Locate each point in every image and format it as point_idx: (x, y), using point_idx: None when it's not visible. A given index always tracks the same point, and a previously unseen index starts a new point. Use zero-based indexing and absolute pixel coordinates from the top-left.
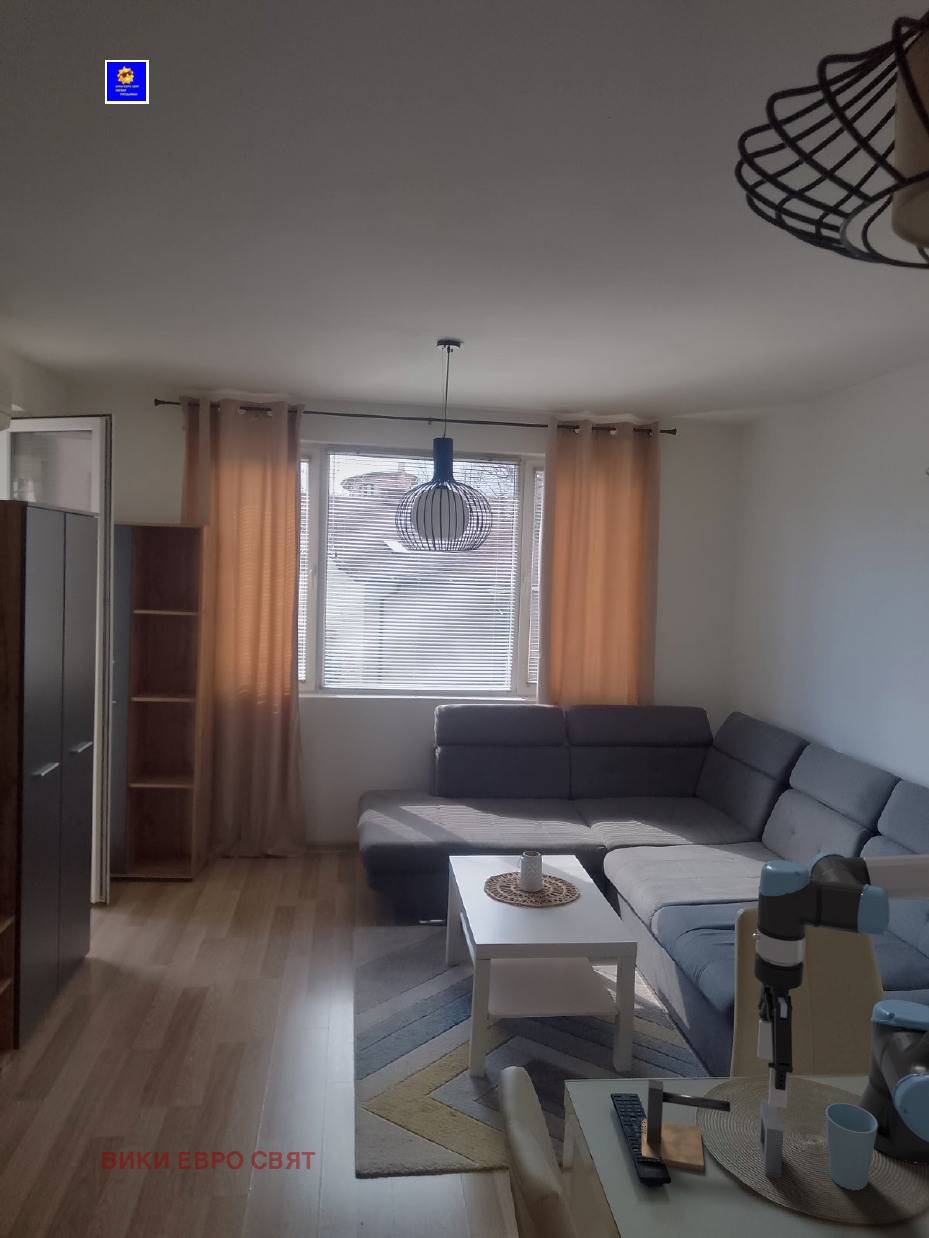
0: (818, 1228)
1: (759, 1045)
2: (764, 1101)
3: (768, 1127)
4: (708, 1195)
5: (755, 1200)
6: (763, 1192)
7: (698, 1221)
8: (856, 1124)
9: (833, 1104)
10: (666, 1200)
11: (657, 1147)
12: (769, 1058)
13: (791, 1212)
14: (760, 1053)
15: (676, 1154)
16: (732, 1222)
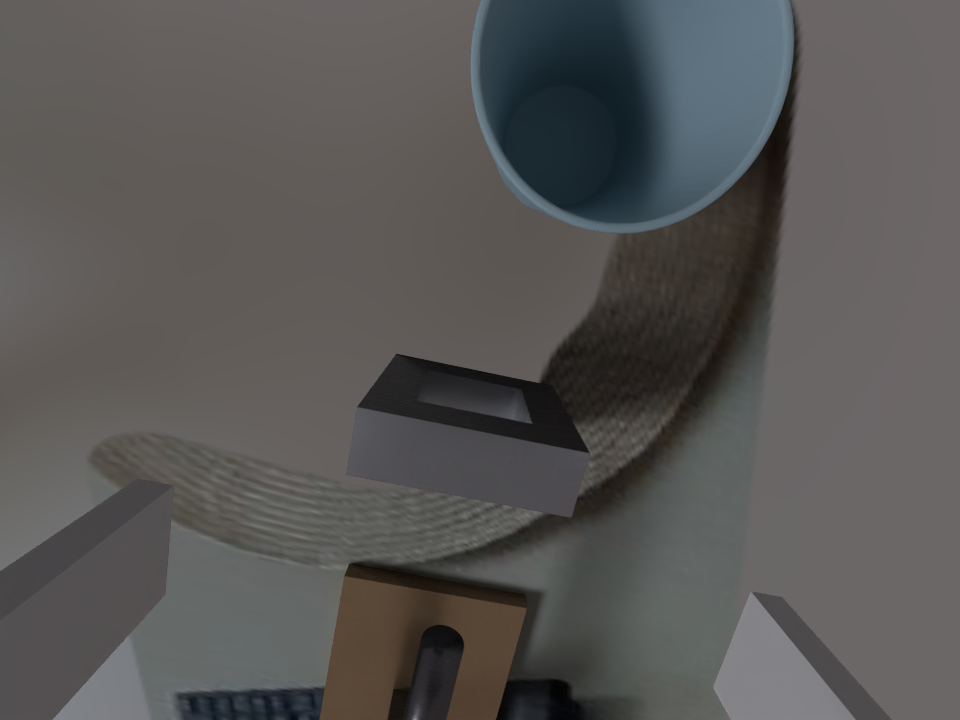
0: (766, 353)
1: (83, 678)
2: (363, 462)
3: (562, 508)
4: (619, 605)
5: (644, 492)
6: (613, 460)
7: (709, 650)
8: (520, 19)
9: (491, 133)
10: (633, 703)
11: (452, 706)
12: (166, 525)
13: (698, 408)
14: (140, 608)
15: (480, 666)
16: (720, 574)
